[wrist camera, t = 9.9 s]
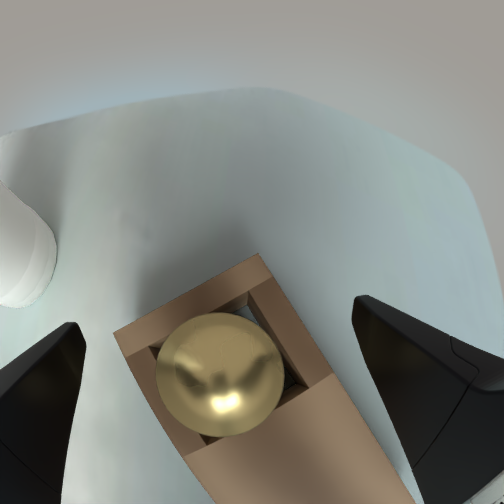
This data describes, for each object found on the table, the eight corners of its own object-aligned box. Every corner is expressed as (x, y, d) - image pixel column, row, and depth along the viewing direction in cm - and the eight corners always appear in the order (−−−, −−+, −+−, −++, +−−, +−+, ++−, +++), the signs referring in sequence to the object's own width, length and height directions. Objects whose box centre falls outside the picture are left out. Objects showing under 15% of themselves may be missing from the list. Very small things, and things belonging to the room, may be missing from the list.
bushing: (228, 413, 17) (217, 461, 8) (183, 366, 18) (130, 367, 9) (276, 370, 19) (311, 377, 9) (231, 323, 19) (222, 286, 10)
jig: (290, 560, 13) (299, 589, 9) (136, 339, 19) (112, 332, 15) (397, 497, 15) (423, 515, 11) (255, 273, 21) (258, 252, 17)
